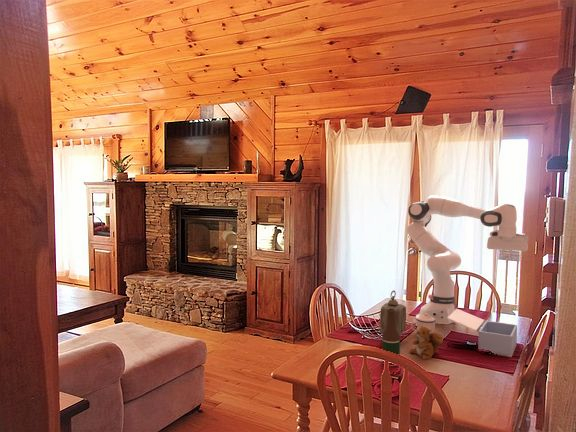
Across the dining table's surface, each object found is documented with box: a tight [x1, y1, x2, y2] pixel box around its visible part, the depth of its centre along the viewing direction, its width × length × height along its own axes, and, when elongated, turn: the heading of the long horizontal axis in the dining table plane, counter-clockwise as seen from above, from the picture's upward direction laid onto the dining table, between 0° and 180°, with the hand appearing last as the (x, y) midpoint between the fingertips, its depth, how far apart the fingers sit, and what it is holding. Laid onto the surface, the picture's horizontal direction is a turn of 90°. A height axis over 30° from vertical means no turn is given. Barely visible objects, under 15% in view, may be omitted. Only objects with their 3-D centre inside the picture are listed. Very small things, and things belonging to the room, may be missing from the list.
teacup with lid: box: [410, 313, 436, 333], centre depth 235 cm, size 12×9×12 cm
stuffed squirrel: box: [408, 326, 445, 360], centre depth 209 cm, size 10×14×13 cm
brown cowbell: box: [379, 289, 407, 336], centre depth 229 cm, size 14×9×25 cm, turn 149°
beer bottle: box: [381, 309, 401, 365], centre depth 197 cm, size 8×8×24 cm
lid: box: [447, 308, 487, 333], centre depth 224 cm, size 20×15×1 cm
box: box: [477, 320, 518, 358], centre depth 217 cm, size 20×14×10 cm
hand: (506, 258), depth 252 cm, fingers closed
